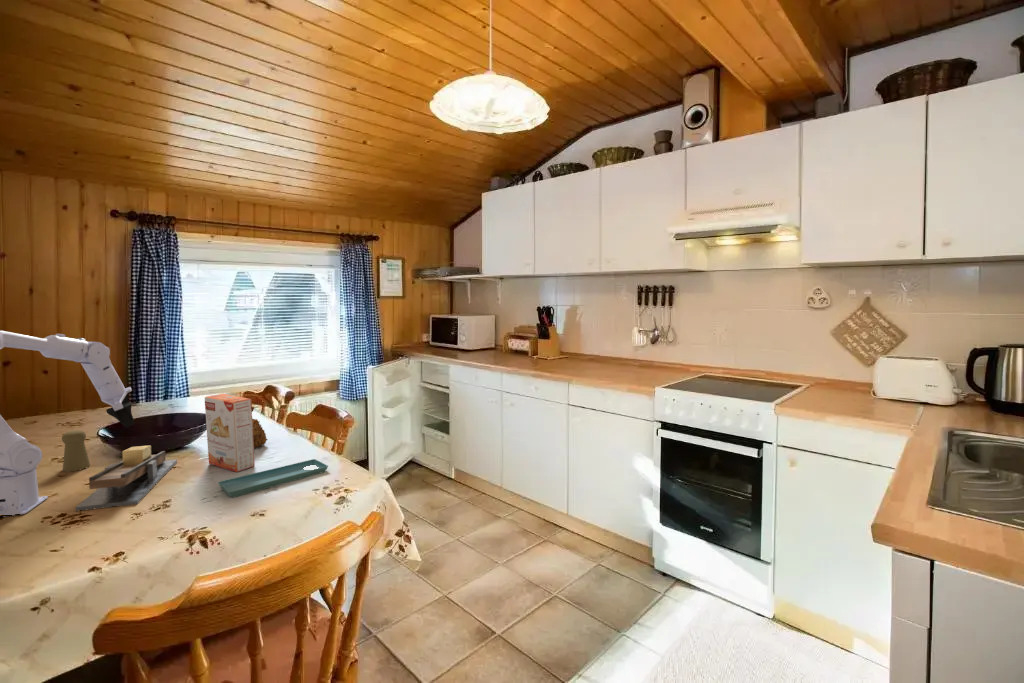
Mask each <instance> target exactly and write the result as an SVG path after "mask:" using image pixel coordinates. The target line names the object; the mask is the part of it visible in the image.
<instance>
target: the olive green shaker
mask: <svg viewBox="0 0 1024 683" xmlns="http://www.w3.org/2000/svg"><path fill="white" fill-rule="evenodd" d="M86 438H87V434H86V432H85V431H84V430H71V431H68V432H65V433H63V434H62V436H61V441H62V443H63V444H64V450H63V451H64V453H63V463H62V471H63V472H64V471H65V472H64V473H68V472H69V473H71V472H70V471H73V472H78V471H77V470H79V471H81V470H80V469H83V470H85V469H84V468H86V467H88V466H90V465H91V463H90V462H91V461H90V458H89V456H88V450H87V447H86V444H85V440H86ZM90 467H91V466H90ZM88 468H89V467H88ZM86 469H87V468H86Z"/></svg>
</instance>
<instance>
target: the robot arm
mask: <svg viewBox="0 0 1024 683" xmlns="http://www.w3.org/2000/svg"><path fill="white" fill-rule="evenodd" d="M4 348H12V349H20V350H29V351H30V350H31V351H38V352H40V354H41V355H42V356H43V357H44V358H50V359H56V360H65V361H71V362H75V363H80V365H81V366H82V369H84V371H85V373H86V375H87V377H88V378H89V380H90V381H91V383H92V385H93V387H94V389H95V390H96V392H97V393H98V396H99V397H100V400H101V402H102V403H104V404H107V405H109V406H111V407H110V408H107V409H106V410H105V411H106V413H107V414H108V416H111V417H113V418H114V419H116V420H117V421H118V422H119V423H120V424H121V425H122V426H123V427H125V428H126V429H127V428H129V427H132V426H134V425H135V420H134V416H133V414H132V402H131V401H129V393H130V392H132V391H133V389H132V387H131V386H129V387H126V388H125V386H124V383H123V382H122V380H121V378H120V376H119V375H118V373H117V370H116V369H115V367H114V366H113V364H112V361H111V359H110V356H111V355H110V354H111V350H110V347H108V346H106V345H105V344H104V343H102V342H100V341H87V340H86V338H83V337H78V338H72V337H68V336H67V337H66V334H63V333H55V334H51V335H48V336H45V337H44V338H42V337H37V336H30V335H26V334H21V333H15V332H11V331H5V330H0V350H2V349H4ZM2 416H3V415H1V414H0V515H12V516H16V515H15V514H20V515H25V514H27V513H28V512H30V511H32V510H33V509H34V508H36V507H37V506H39V505H40V504H41V503H43V502H44V501H45V500H47V499H48V498H49V496H48V495H44V496H39V487H38V486H39V485H38V476H37V466H38V465H39V464H40V463H41V462H42V458H43V452H42V450H41V448H40V447H38V446H37V445H34V444H32V443H30V442H29V440H27V438H25V437H23V436H22V435H21V434H19V433H17V432H15V431H14V430H13V429H12V427H10V425H9V424H8V423H7V421H6V420H5V419H4V417H2Z"/></svg>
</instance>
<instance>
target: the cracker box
mask: <svg viewBox="0 0 1024 683" xmlns="http://www.w3.org/2000/svg"><path fill="white" fill-rule="evenodd" d="M252 407H253V406H252V399H251V398H249V397H248V398H247V397H242V396H237V395H233V394H232V395H231V394H226V393H218V394H213V395H208V396H205V397H204V408H205V409H204V410H205V411H204V412H205V423H206V438H207V439H206V441H207V456H208V464H209V465H213V466H216V467H219V468H222V469H225V470H229V471H232V472H235V473H239V472H242V471H245V470H247V469H250V468H254V467H255V450H254V449H255V448H254V444H253V425H252V419H253V412H252Z"/></svg>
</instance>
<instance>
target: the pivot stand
mask: <svg viewBox="0 0 1024 683" xmlns="http://www.w3.org/2000/svg"><path fill="white" fill-rule="evenodd" d="M177 463H178V459H165V461H164V462H162V463H161V464H159V465H157V462H156V460H153V461H150V462H149V463H148V464H147V472H146V473H145V474H143V475H141V476H140V477H138V478H137V479H135V480H133V481H132V482H130V483H129V484H127V485H125V486H117V487H108V488H99V489H95V491H94V492H92V493H91V494H90V495H89V496H87V497H86V498H85V499H84V500H83V501H81V502H80V503H78V504H77V505H76V506H75V512H79V511H78V510H83V511H87V510H86V509H91V510H95V509H94V508H100V509H103V508H102V507H108V508H115V507H114V506H117V507H124V505H126V506H132V505H133V504H134V505H138V504H139V503H140V502H141V501H142V500H143V499H144V498H145V497H144V496H146V495H148V494H149V493H150V492H151V490H152V489H153V488H154V487H155V486H156V485H157V484H158V483H159V482H160V481H161V480H162V479H163V478H164V477H163V476H164V475H165V474H166V475H167V474H168V473H169V471H171V470H172V468H173V467H174V466H175V465H176V464H177ZM115 464H116V463H112V464H111V463H110V464H109V465H108V466H106V467H104V470H105V469H107V468H109V467H111V466H113V465H115ZM166 475H165V476H166ZM162 477H163V478H162ZM161 478H162V479H161ZM160 479H161V480H160ZM159 480H160V481H159ZM158 481H159V482H158ZM157 482H158V483H157ZM156 483H157V484H156ZM155 484H156V485H155ZM154 485H155V486H154ZM153 486H154V487H153ZM152 487H153V488H152ZM150 489H151V490H150ZM143 497H144V498H143ZM142 498H143V499H142ZM141 499H142V500H141ZM140 500H141V501H140ZM139 501H140V502H139ZM112 506H113V507H112Z"/></svg>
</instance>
